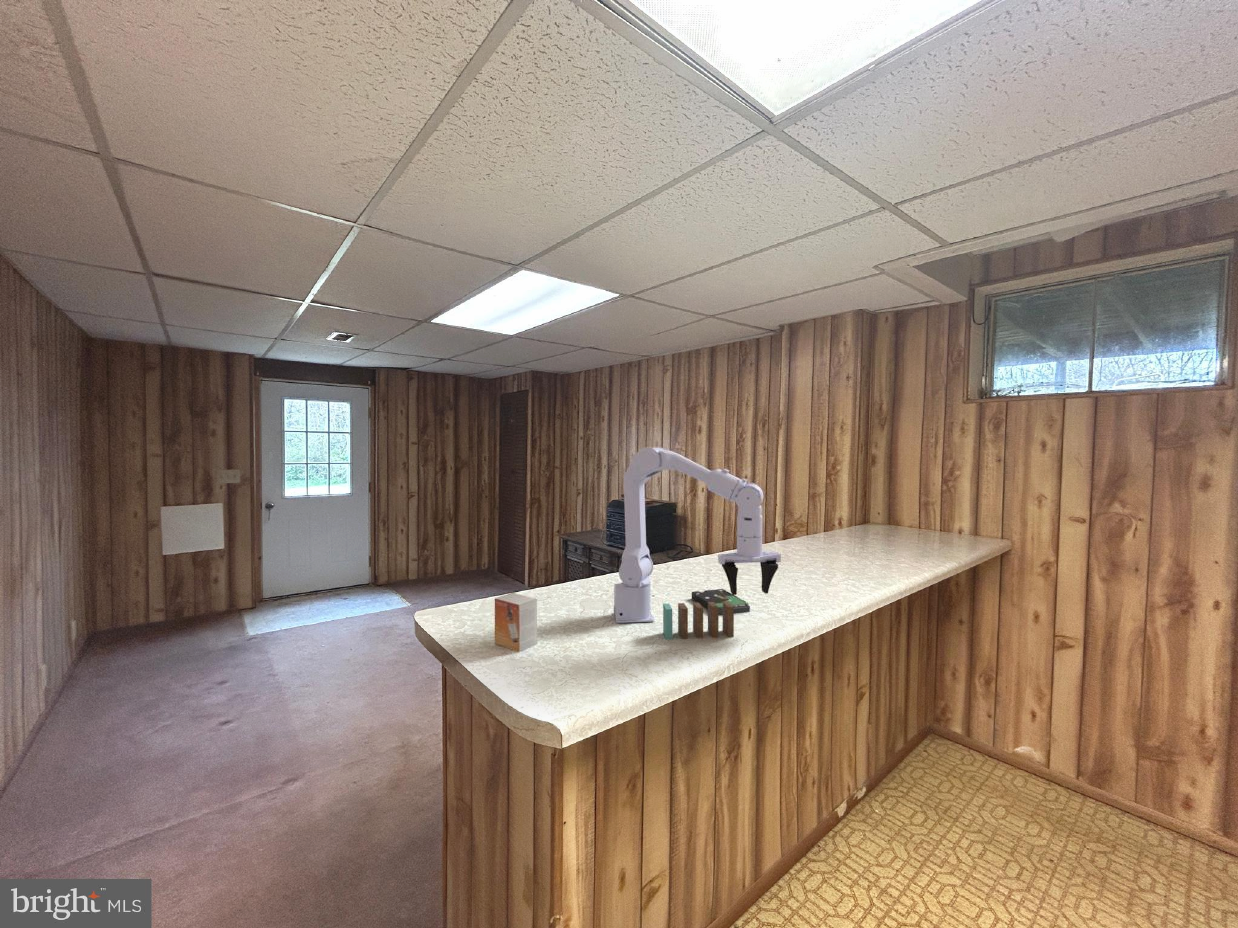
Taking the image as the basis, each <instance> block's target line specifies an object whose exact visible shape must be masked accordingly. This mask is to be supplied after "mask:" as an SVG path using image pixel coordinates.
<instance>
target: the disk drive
mask: <svg viewBox="0 0 1238 928" xmlns="http://www.w3.org/2000/svg"><path fill="white" fill-rule="evenodd" d="M691 600H692V601H693V602H694V603H700V605H701V606H702V607H703V609H706V610H707V611H708V602H714V603H715V604H716V605H717V606H718V607H719V616H723V602H729V603H730V604H731V605H732V606H733V607H734V615H735V614H744V613H750V612H751V606H750V605H749V603H748V602H747V601H745V600H744V599H742V598H740V597H738V596H737V595H733V594H732V593H731V592H729V591H728V590H726V589H723V588H717V589H706V590H704V591H699V590H697V591H691Z"/></svg>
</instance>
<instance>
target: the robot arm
mask: <svg viewBox="0 0 1238 928" xmlns="http://www.w3.org/2000/svg"><path fill="white" fill-rule="evenodd" d="M671 470H673V471H674V470H676V471H678V472H679V473H682V474H685V475H687V476H690V477H691V478H694V479H696V480H698V481H700V482H703V483H704V484H705V485H706V487H707V490H708V491H709V492H712V493H713V494H715V495H718V496H720V497H721V498H723V499H726V500H728V501H730V502H732V503H733V502H735V504H736V506H737V515H736V552H729V553H720V554H719V553H718V555H717V558H718V559H717V561H718V563H719V564H720V565H721V567H722V568H723V571H724V573H725V575H726V578H727V580H728V585H729V590H730V593H731V594H733V595H735V596H737V593H738V592H737V591H738V587H737V585H738V584H737V579H738V572H739V567H737V566H736V564H748V563H749V564H750V563H751V564H752V563H759V565H760V571H761V592H762V593H764V594H769V590H770V586H771V582H772V580H773V578H774V577H775V574H776V572H777V571H778V569H779V564H778V563H781V562H782V560H781V559H782V557H781V556H782V554H781V553H779V552H778V551H777V552H776V551H775V552H768V551H763V516H762V514H763V509H762V508H763V507H762V505H761V504H762V503H763V501H764V492H763V490H762V488H761V487H760V486H759V485H757V484H756V483H754V482H748V479H746V478H739V477H737V476H735V475H733V474H730V470H729V469H726V468H723V469H720V468H716V469H713V470H710V469H708V468H707V467H705V466H703V465H701V464H699V463H697V462H694V461H693V460H691V459H690V458H687V457H686V456H683V455H681V454H680V453H677V452H674V451H672V450H668V449H667V450H666V449H665V448H663V447H661V446H655V447H649V446H646V447H643V448H641V449H639V450H638V451H637V452H635V454H633V455H632V457H631V462H630V464H629V465H628V467H627V469H626V471H625V474H624V476H623V495H624V496H623V500H624V504H623V505H624V529H625V531H624V532H625V535H624V536H625V548H624V550H623V552H622V555H621V564H620V566H619V568H618V577H619V579H620V581H621V582H620V583H615V584H614V585H613V586H614V589H613V590H614V591H613V594H614V595H613V603H614V604H613V614H614V617H615V618H614V619H615V621H616V623H617V624H623V623H625V624H626V623H646V622H647V623H651V622H655V619H654V617H653V614H652V612H651V604H652V603H651V579H650V575H651V574H652V572H653V570H654V563H653V560H652V558H651V555H650V549H649V547H648V545H647V535H646V534H647V530H646V529H647V528H646V527H647V526H646V500H645V499H646V496H645V494H646V493H645V491H646V490H645V485H646V483H647V482H648V481H650V479H651V478H652V477H653V476H654V475H657V474H659V473H660V472H663V471H671Z"/></svg>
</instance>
